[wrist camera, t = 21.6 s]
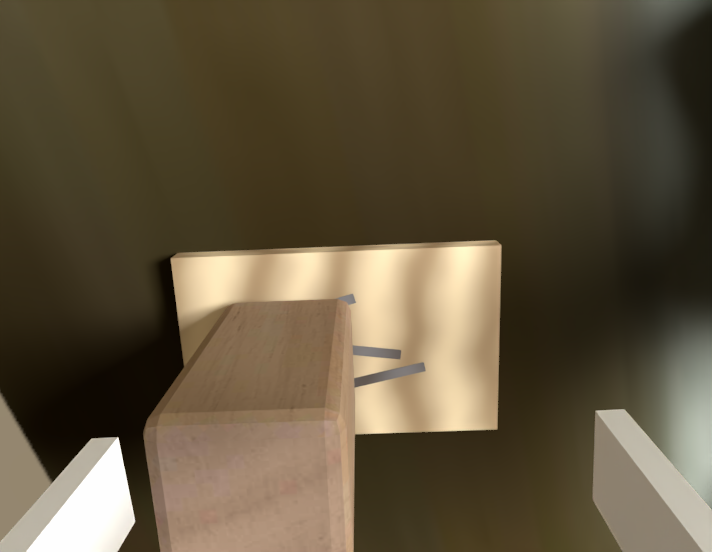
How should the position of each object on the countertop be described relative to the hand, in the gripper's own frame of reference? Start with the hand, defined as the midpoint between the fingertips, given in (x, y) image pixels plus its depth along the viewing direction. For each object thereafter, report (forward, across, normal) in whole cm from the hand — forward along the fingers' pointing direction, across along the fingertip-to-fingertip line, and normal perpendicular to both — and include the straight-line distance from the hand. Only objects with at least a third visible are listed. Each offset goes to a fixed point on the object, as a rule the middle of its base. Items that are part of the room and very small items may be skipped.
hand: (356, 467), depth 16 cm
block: (+31, +7, +9) cm, 33 cm away
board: (+33, +3, +9) cm, 34 cm away
